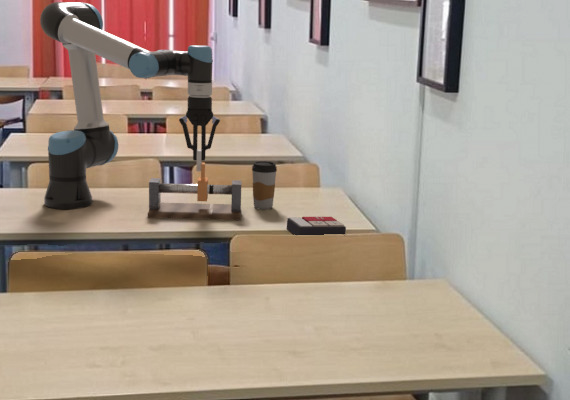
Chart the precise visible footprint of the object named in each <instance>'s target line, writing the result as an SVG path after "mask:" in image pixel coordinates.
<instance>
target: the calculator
mask: <svg viewBox="0 0 570 400" xmlns="http://www.w3.org/2000/svg"><path fill="white" fill-rule="evenodd" d="M286 219H287V220H286V230H287V231H289V232H290V233H291V234H293V235H294V234H295V235H324V234H345V235H346V232H347V231H346V229H347V228H346V227H347V226H345V224H343V223H342V222H341V221H338V220H337V219H336V218H334V217H332V216H302V217H300V216H298V217H297V216H296V217H295V216H294V217H293V216H289V217H288V218H286ZM295 235H294V236H295Z"/></svg>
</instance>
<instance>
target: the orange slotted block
mask: <svg viewBox="0 0 570 400" xmlns="http://www.w3.org/2000/svg"><path fill="white" fill-rule="evenodd" d="M197 184H198V191H197V196H196V197H197V198H196V199H197V202H207V201H208V197H209V194H207V185H209V177H207V176H206V162H204V161H202V164H201V171H200V176H199V177H198V179H197Z"/></svg>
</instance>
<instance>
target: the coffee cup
mask: <svg viewBox="0 0 570 400" xmlns="http://www.w3.org/2000/svg"><path fill="white" fill-rule="evenodd" d="M277 168H278V167H277V164H276V163H275V162H273V161H267V160H266V161H255V162H253V164H252V166H251V171H252V172H251V173H252V197H253V206H254V208H255V209H257V210H270V209H272V207H274V197H275V189H276V177H277V171H278V169H277Z"/></svg>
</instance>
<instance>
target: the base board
mask: <svg viewBox="0 0 570 400" xmlns="http://www.w3.org/2000/svg"><path fill="white" fill-rule="evenodd" d="M241 215H242V211H241V212H231V203H228V204H227V203H225V204H224V203H199V202H198V203H197V202H196V203H192V202H191V203H189V202H160V208H159V210H149V209H148V211H147V218H148V219H179V220H180V219H181V220H182V219H183V220H184V219H187V220H219V221H221V220H222V221H223V220H224V221H225V220H226V221H227V220H229V221H241V220H242V219H241Z"/></svg>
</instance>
